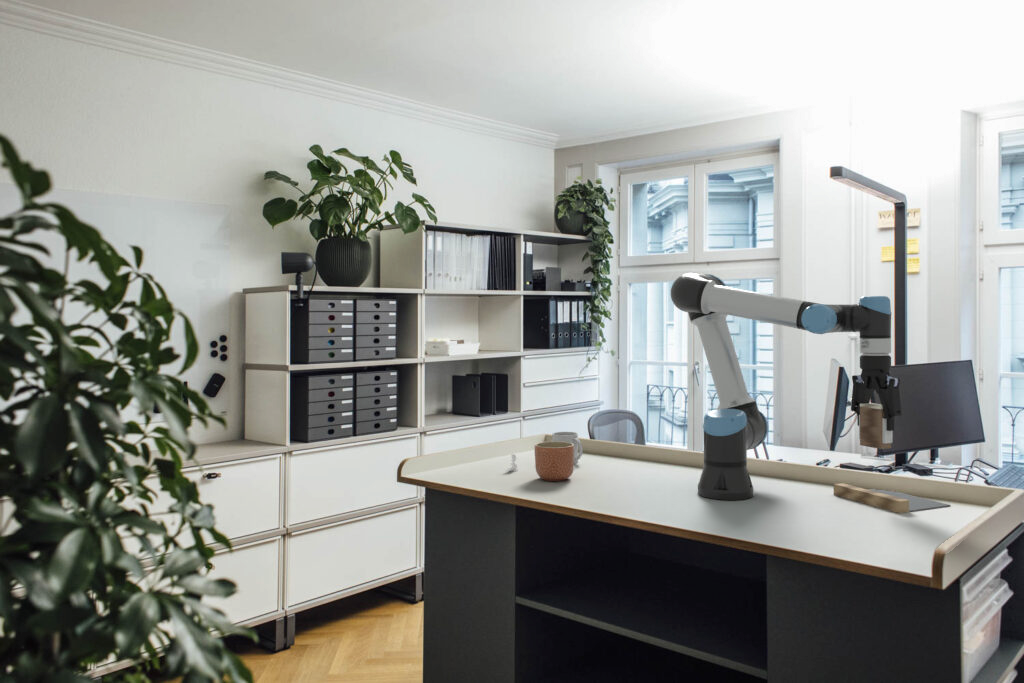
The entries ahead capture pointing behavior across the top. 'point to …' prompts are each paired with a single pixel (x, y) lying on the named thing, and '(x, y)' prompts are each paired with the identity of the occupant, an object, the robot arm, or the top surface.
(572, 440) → the mug
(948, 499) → the top surface
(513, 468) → the figurine
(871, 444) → the slab
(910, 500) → the mat
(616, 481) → the top surface
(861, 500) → the rail
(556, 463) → the planter
